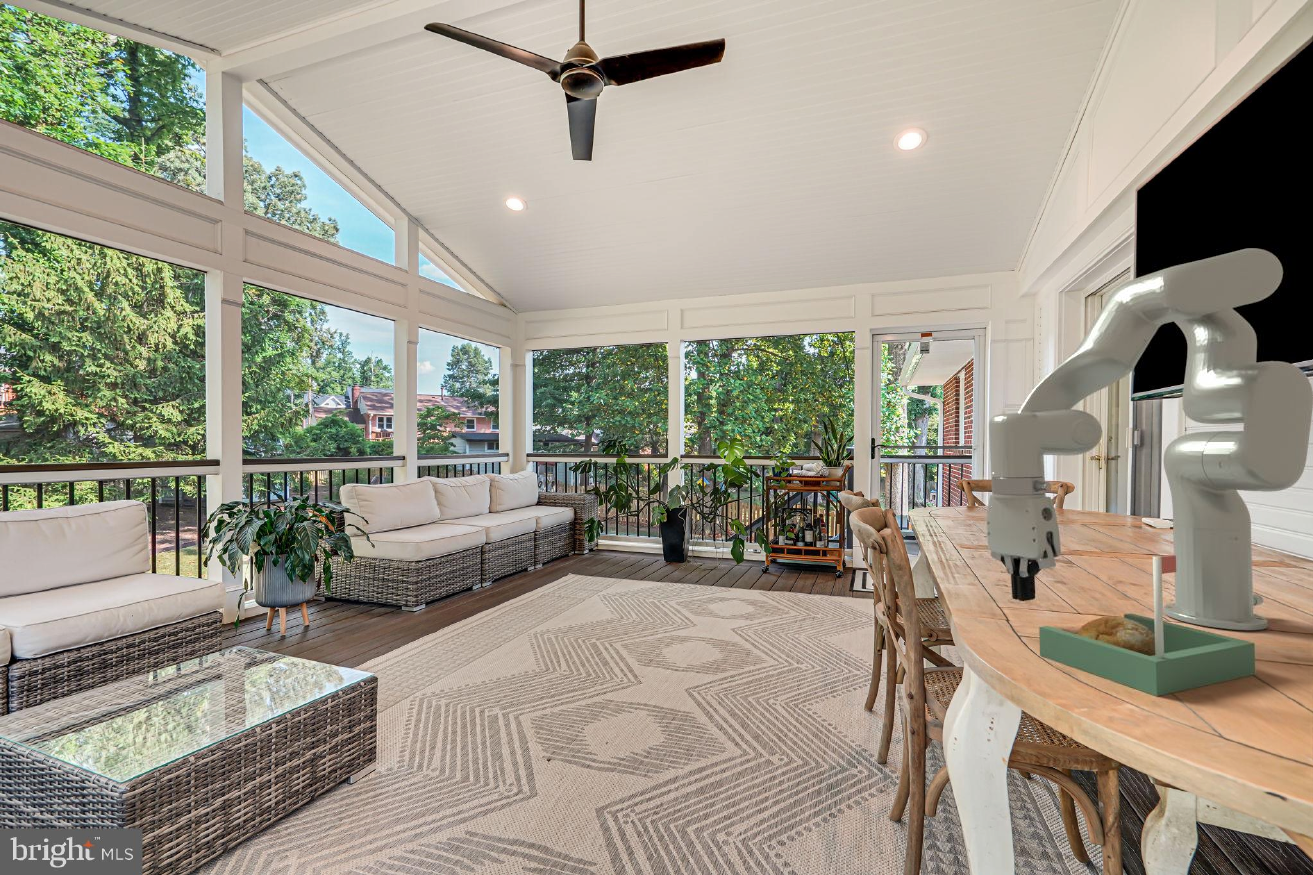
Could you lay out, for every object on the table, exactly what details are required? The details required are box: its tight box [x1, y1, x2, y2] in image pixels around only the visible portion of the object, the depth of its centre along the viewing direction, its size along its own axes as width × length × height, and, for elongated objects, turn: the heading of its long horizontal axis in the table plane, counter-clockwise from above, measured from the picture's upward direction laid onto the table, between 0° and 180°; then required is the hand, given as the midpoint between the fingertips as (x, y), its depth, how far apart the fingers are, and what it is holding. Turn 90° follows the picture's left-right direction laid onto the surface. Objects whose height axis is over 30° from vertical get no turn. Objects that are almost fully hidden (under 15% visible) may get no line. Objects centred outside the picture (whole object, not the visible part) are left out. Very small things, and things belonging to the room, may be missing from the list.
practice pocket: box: [1038, 554, 1256, 697], centre depth 79 cm, size 19×14×16 cm
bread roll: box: [1076, 615, 1155, 656], centre depth 79 cm, size 10×10×8 cm
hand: (1023, 598), depth 96 cm, fingers closed
